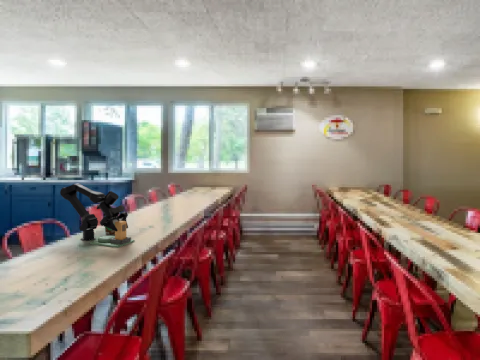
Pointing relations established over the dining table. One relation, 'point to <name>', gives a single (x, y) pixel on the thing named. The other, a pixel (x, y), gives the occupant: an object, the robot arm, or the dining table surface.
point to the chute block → (120, 230)
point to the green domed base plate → (112, 241)
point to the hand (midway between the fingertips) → (122, 229)
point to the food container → (110, 231)
